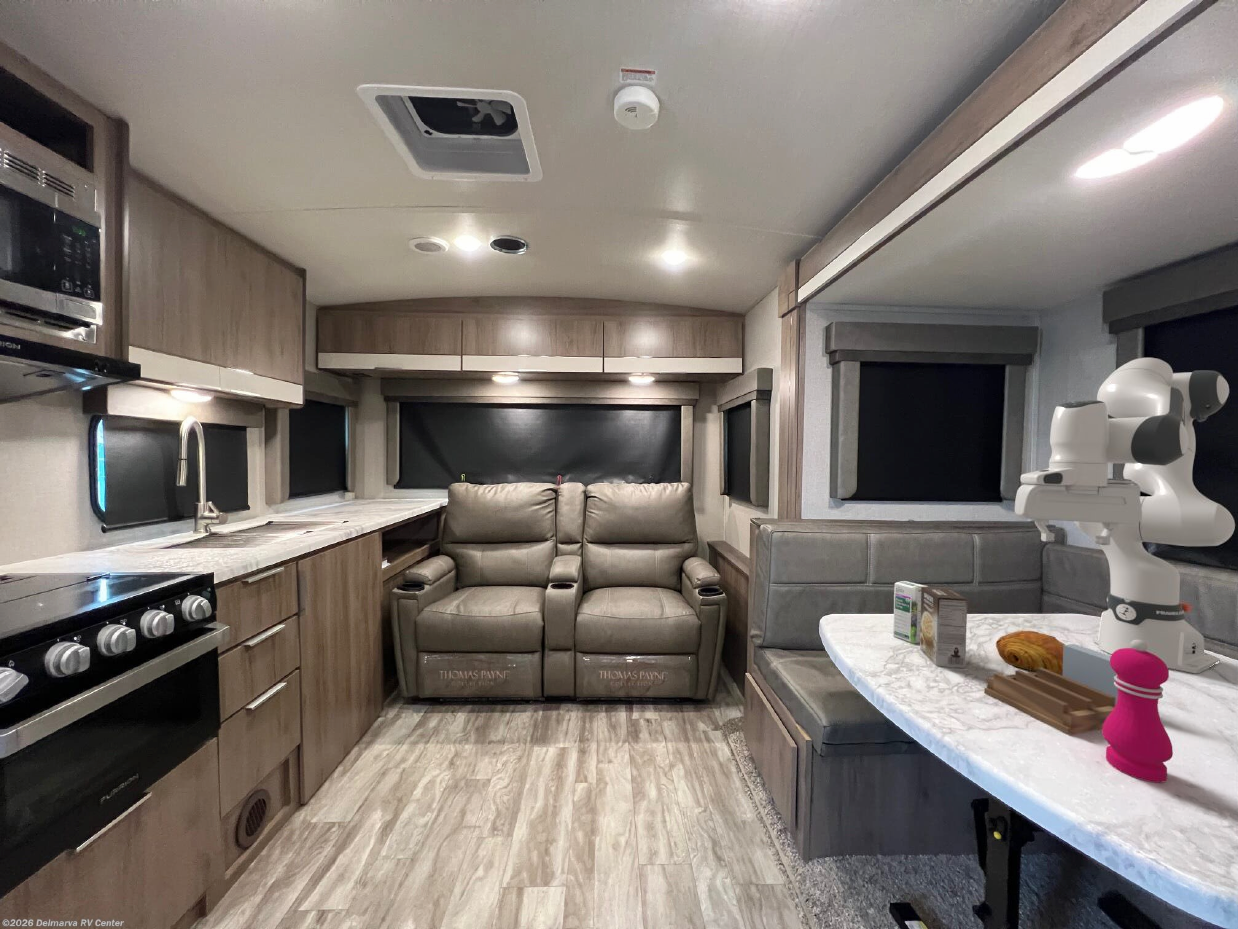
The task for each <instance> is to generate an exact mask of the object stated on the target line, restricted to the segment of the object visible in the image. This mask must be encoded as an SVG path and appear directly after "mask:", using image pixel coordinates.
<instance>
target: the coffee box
mask: <svg viewBox="0 0 1238 929" xmlns="http://www.w3.org/2000/svg"><path fill="white" fill-rule="evenodd" d="M967 618H968V598H966V597H964V596H963V595H961V594H959V593H958V592H956V591H955V590H953V589H951V588H950V587H935V586H927V587H921V625H920V642H919V651H921V653H923V654H924V655H925V656H926V657H927V659H929V660H930V661H931V662H932V663H933V664H934V665H936V666H937V667H946V668H947V667H950V668H959V669H960V668H961V669H966V658H967V656H966V654H967V653H966V651H967V623H968V622H967V620H968V619H967Z"/></svg>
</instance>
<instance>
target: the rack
mask: <svg viewBox="0 0 1238 929" xmlns="http://www.w3.org/2000/svg"><path fill="white" fill-rule="evenodd" d="M986 682H987V683H986V684H987V685H986V687H984V688H983V689H984V690H983V691H984V694H986V695H988V696H990V697H992V698H994V699H996V700H997V701H1000V702H1001V703H1004V704H1006V705H1008V706H1009V707H1012V708H1014V709H1016V710H1018V711H1020V712H1021V713H1024V714H1026V715H1027V716H1030V717H1032V718H1034V719H1035V720H1037V721H1040V722H1041V723H1044V724H1046V725H1047V726H1049V727H1052V728H1053V729H1056V730H1058V731H1060V732H1061V733H1063V734H1065V735H1068V736H1069V735H1075V734H1081V733H1087V732H1092V731H1098V730H1102V729H1103V724H1104V722H1105V720H1106V718H1107V717H1108V716H1109V714H1110V713H1111V712H1112V711H1113V709H1114V708H1115V697H1114V696H1112V695H1109V694H1107V693H1104V692H1102V691H1099V690H1096V689H1094V688H1091V687H1089V686H1086V685H1084V684H1081V683H1079V682H1076V681H1074V680H1071V679H1069V678H1066V677H1064V676H1061V675H1059V674H1056V673H1054V672H1051V671H1049V670H1046V669H1044V668H1041V667H1040V668H1037V672H1035V671H1032V672H1025V671H1024V670H1021V669H1018V670H1015V674H1007V675H1006V674H1005V675H1004V674H1002V673H1000V672H995V673H993V676H992V677H987V681H986Z"/></svg>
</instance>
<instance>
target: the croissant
mask: <svg viewBox="0 0 1238 929" xmlns="http://www.w3.org/2000/svg"><path fill="white" fill-rule="evenodd" d="M995 642H996V643H995V645H996V646H995V647H996V649H997V652H998V656H1000V658H1001V659H1002V660H1004V661H1005V662H1006V663H1007V664H1009V665H1011V666H1013V667H1017V668H1020V669H1023V670H1028V671H1032V672H1036V673H1037V668H1040V667H1041V668H1044V669H1046V670H1049V671H1051V672H1054V673H1056V674H1059V675H1061V676H1063V645H1066V644H1065V643H1063V642H1062V641H1060V640H1058V639H1057V638H1056V637H1055V636H1053V635H1049V634H1045V633H1041V632H1038V631H1034V630H1018V631H1014V632H1011V633H1007V634H1005V635H1002V636H1000V637H999V638H998V639H997V641H995Z"/></svg>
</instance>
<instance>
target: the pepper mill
mask: <svg viewBox="0 0 1238 929" xmlns="http://www.w3.org/2000/svg"><path fill="white" fill-rule="evenodd" d="M1131 647H1132V648H1122V649H1118V650H1116V651H1115V652H1113V654H1110V656H1111V657H1110V665H1111V668H1112V669H1113V670H1114V671H1115V673H1116V674H1117V675H1116V676H1114V679H1115V682H1114V685H1115V686H1116V687H1117V688H1118V698H1117V703H1116V705H1115V708H1114V709H1113V711H1112V712H1111V713H1110V714H1109V716H1108V717H1107V718H1106V720H1105V722H1104V724H1103V729H1101V730H1102V731H1101V734H1102V736H1103V738H1104V740H1105V741H1106V742H1107V743H1108V744H1109V745H1108V746H1106V747H1105V760H1106V761H1107V763H1108V764H1110V765H1111V766H1112V767H1113V768H1114V769H1116V770H1118V771H1119V772H1121V773H1123V774H1126V775H1128V776H1130V777H1134V778H1136V779H1139V780H1142V781H1146V782H1149V783H1150V782H1151V783H1152V782H1153V783H1164V782H1165V781H1167V779H1168V767H1167V765H1166V764H1165V762H1168V761H1170V760H1171V759H1172V757H1173V754H1174V752H1173V751H1174V750H1173V745H1172V742H1171V741H1172V740H1171V738H1170V736H1169V734H1168V733H1167V730H1166V728H1165V727H1164V724H1163V722H1162V719H1161V718H1160V714H1159V706H1158V704H1159V699H1160V700H1161V699H1162V698H1163V697H1164V695H1163V692H1164V688H1163V687H1162V686H1161V685H1162V684H1164V683H1166V682H1168V680H1169V677H1170V675H1169V672H1170V671H1169V668H1167V665H1166V664H1165V663H1164V662H1163V661H1162V660H1161V659H1160V658H1159V657H1157V656H1156V655H1154V654H1152V653H1150V652H1147V649H1148V646H1147V644H1146V643H1145V642H1143V641H1141V640H1133V641H1132V642H1131Z"/></svg>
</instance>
